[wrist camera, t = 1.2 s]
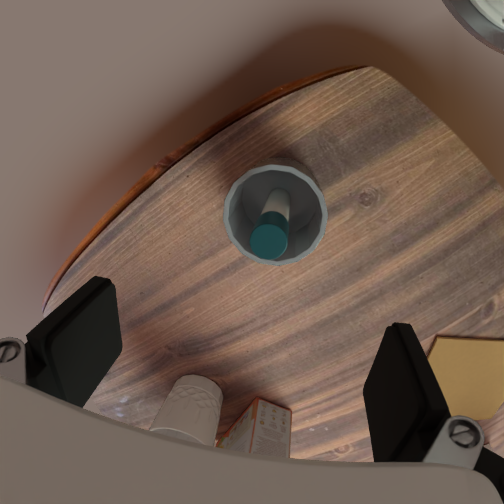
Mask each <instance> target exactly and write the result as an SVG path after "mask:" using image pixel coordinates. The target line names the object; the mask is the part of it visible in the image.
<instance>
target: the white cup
mask: <svg viewBox="0 0 504 504" xmlns="http://www.w3.org/2000/svg"><path fill="white" fill-rule="evenodd" d="M222 401H223V394H222V391H221V389H220V388H219V387H218V386H217V384H216V383H215V382H213V381H211V380H210V379H208V378H206V377H204V376H199V375H194V374H192V375H185V376H182V377H181V378H180V379H178V380H177V381H176V383H175V385H174V386H173V388H172V390H171V392H170V393H169V395H168V396H167V398H166V399H165V401H164V403H163V405H162V406H161V408H160V410H159V412H158V414H157V415H156V417H155V419H154V421H153V423H152V425H151V427H150V428H149V430H148V431H152V432H155V433H159V434H162V435H166V436H170V437H174V438H178V439H182V440H186V441H190V442H195V443H199V444H204V445H208V446H213V447H214V443H215V438H216V434H217V429H218V423H219V419H220V410H221V406H222Z"/></svg>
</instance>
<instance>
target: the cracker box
mask: <svg viewBox="0 0 504 504" xmlns="http://www.w3.org/2000/svg"><path fill="white" fill-rule="evenodd" d="M291 425H292V411H291V410H288V409H285V408H283V407H280V406H278V405H275V404H273V403H270V402H268V401H265V400H263V399H260V398H258V397H256V398H255V399H254V401H253V402H252V403H251V404H250V405H249V407H248V408H247V409H246V410H245V411H244V412H243V414H242V415H241V416H240V417H239V418H238V419H237V421H236V422H235V423H234V424H233V425H232V426H231V427H230V428H229V430H228V431H227V432H226V433H225V434H224V435H223V436H222V437H221V439H220V440H219V441H218V442H217V444H216V447H218V448H224V449H229V450H235V451H241V452H247V453H253V454H260V455H268V456H275V457H284V458H290V447H291Z"/></svg>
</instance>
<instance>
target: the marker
mask: <svg viewBox="0 0 504 504" xmlns="http://www.w3.org/2000/svg"><path fill="white" fill-rule="evenodd" d="M289 209H290V195H289V193H288V192H287V191H286V190H284V189H282V188H277V189H274V190H273V191H271V193H270V194H269V197H268V199H267V201H266V204H265V206H264V208H263V211H262V213H261V215H260V216H259V217H258V219H257V221H256V223H255V225H254V228H253V230H252V232H251V234H250V238H249V244H250V247H251V249H252V251H253V252H254V253H255V254H256V255H257V256H258V257H260V258H263V259H267V260H271V259H276V258H278V257H280V256H281V255H282V254H283V253H284V252H285V250H286V248H287V245H288V234H289V223H288V219H289Z"/></svg>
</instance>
